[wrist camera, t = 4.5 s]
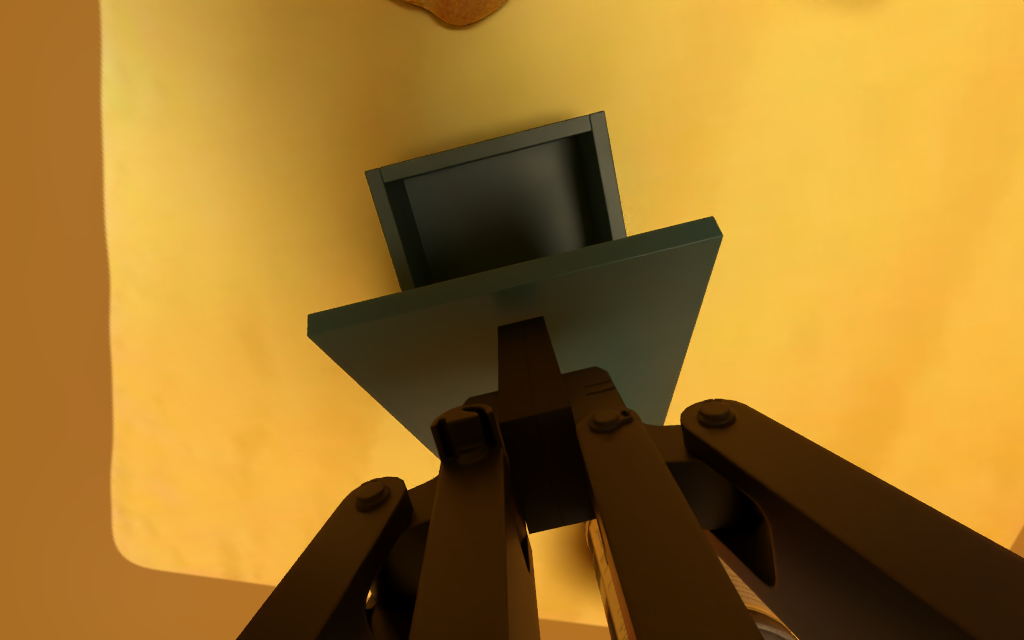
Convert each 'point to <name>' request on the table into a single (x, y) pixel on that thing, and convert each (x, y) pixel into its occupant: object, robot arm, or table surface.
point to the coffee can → (767, 622)
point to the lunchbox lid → (525, 295)
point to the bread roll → (459, 9)
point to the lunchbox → (499, 201)
